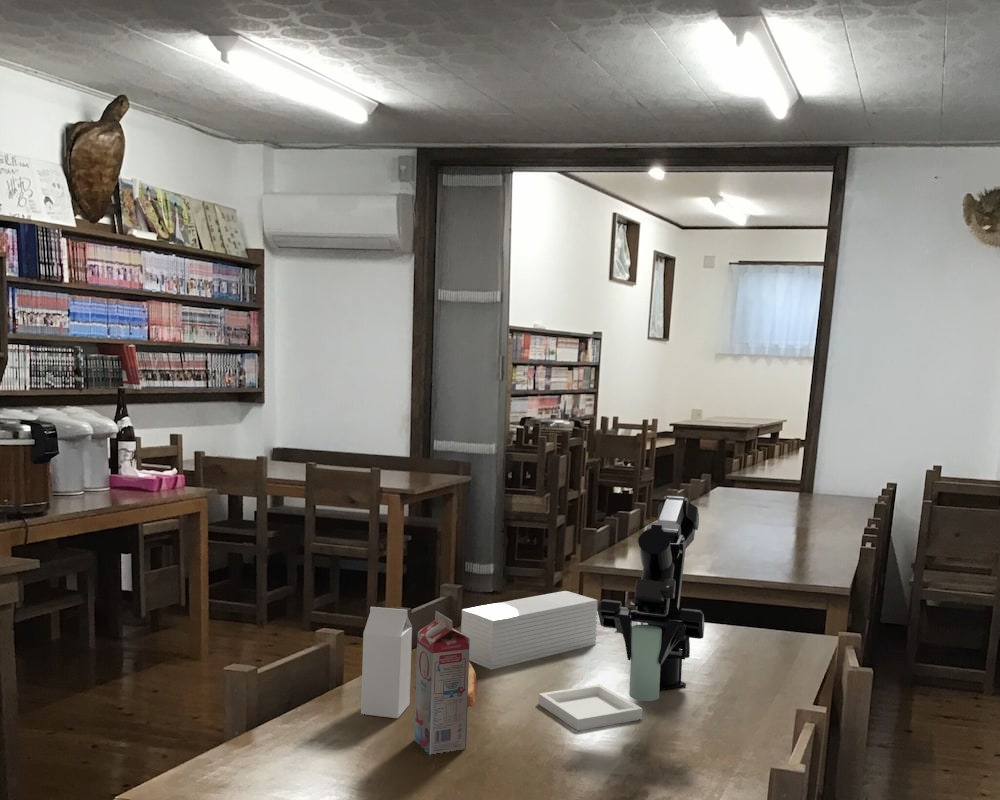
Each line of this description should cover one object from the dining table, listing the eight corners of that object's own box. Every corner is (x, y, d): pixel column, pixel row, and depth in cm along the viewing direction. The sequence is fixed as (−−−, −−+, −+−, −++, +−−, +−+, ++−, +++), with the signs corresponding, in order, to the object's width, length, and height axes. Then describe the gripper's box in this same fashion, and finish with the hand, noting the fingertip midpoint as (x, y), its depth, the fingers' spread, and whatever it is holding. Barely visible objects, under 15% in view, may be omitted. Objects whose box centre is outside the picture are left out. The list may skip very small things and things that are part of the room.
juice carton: (429, 755, 151) (434, 622, 150) (414, 740, 157) (418, 612, 156) (466, 748, 154) (470, 618, 153) (449, 734, 160) (453, 608, 159)
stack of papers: (564, 634, 224) (565, 590, 224) (595, 645, 216) (597, 599, 216) (460, 657, 203) (461, 609, 203) (491, 670, 195) (492, 620, 195)
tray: (599, 694, 183) (600, 684, 183) (641, 719, 170) (642, 708, 170) (538, 703, 176) (538, 693, 176) (577, 730, 164) (578, 719, 164)
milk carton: (398, 719, 166) (401, 615, 165) (360, 715, 167) (363, 611, 167) (409, 705, 173) (412, 605, 172) (373, 701, 174) (376, 602, 174)
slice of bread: (462, 712, 171) (463, 692, 171) (389, 690, 182) (390, 671, 182) (515, 687, 186) (516, 668, 186) (445, 668, 196) (446, 650, 196)
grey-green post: (647, 689, 167) (650, 623, 166) (665, 698, 162) (667, 631, 161) (623, 692, 164) (626, 626, 164) (640, 702, 160) (643, 634, 159)
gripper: (601, 555, 169) (586, 631, 159) (705, 565, 163) (696, 644, 153) (608, 588, 177) (594, 662, 166) (707, 599, 171) (699, 676, 161)
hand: (644, 661), depth 161 cm, fingers closed on grey-green post, 5 cm apart
